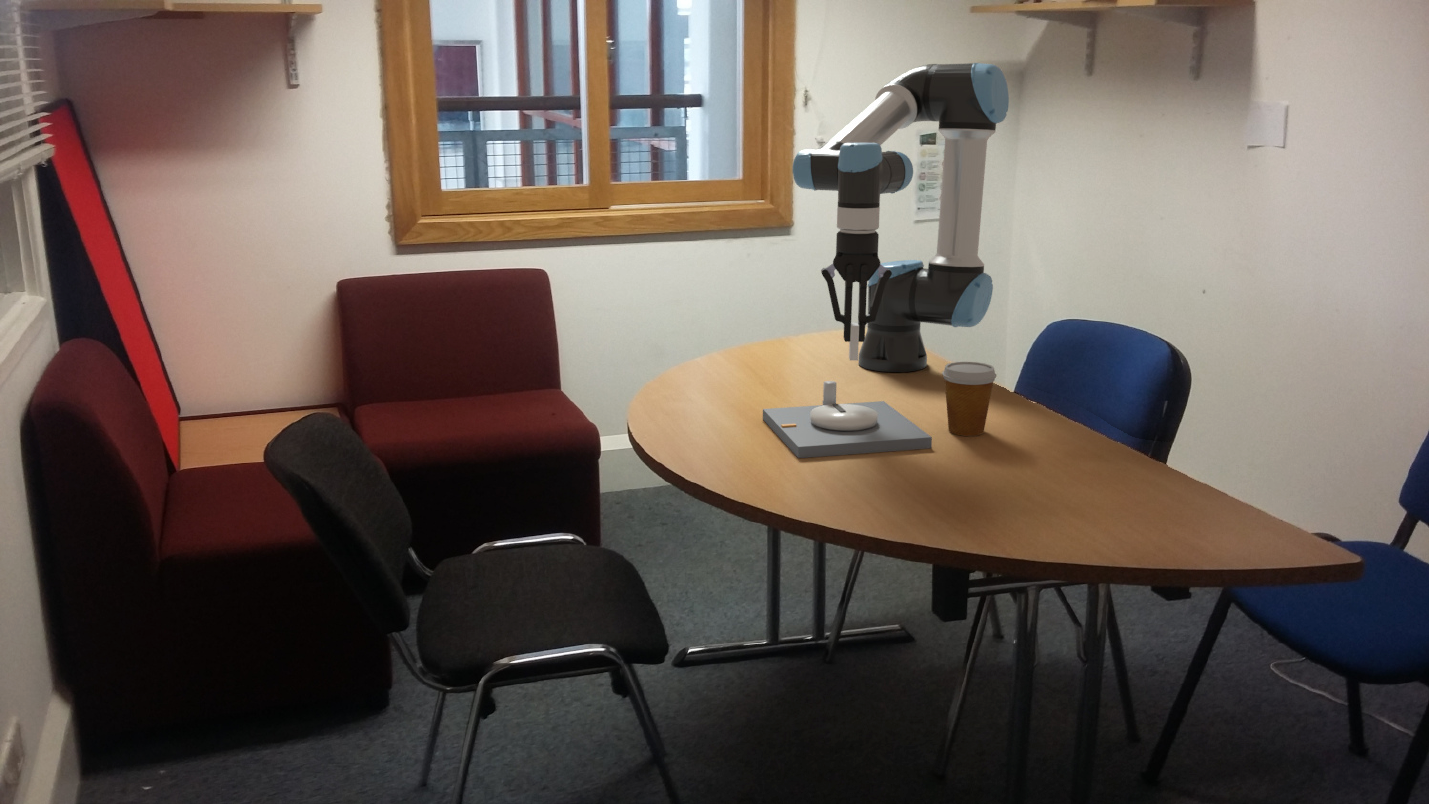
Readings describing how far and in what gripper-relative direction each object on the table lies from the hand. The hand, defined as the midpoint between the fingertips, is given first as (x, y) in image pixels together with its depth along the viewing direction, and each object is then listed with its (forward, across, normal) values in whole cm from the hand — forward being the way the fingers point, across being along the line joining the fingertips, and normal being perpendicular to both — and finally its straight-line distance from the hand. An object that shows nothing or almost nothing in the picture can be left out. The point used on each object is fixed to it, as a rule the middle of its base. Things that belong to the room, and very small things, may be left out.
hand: (853, 358), depth 215 cm
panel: (+12, +2, +8) cm, 15 cm away
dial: (+10, +2, +6) cm, 12 cm away
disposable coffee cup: (+12, -20, +6) cm, 24 cm away
